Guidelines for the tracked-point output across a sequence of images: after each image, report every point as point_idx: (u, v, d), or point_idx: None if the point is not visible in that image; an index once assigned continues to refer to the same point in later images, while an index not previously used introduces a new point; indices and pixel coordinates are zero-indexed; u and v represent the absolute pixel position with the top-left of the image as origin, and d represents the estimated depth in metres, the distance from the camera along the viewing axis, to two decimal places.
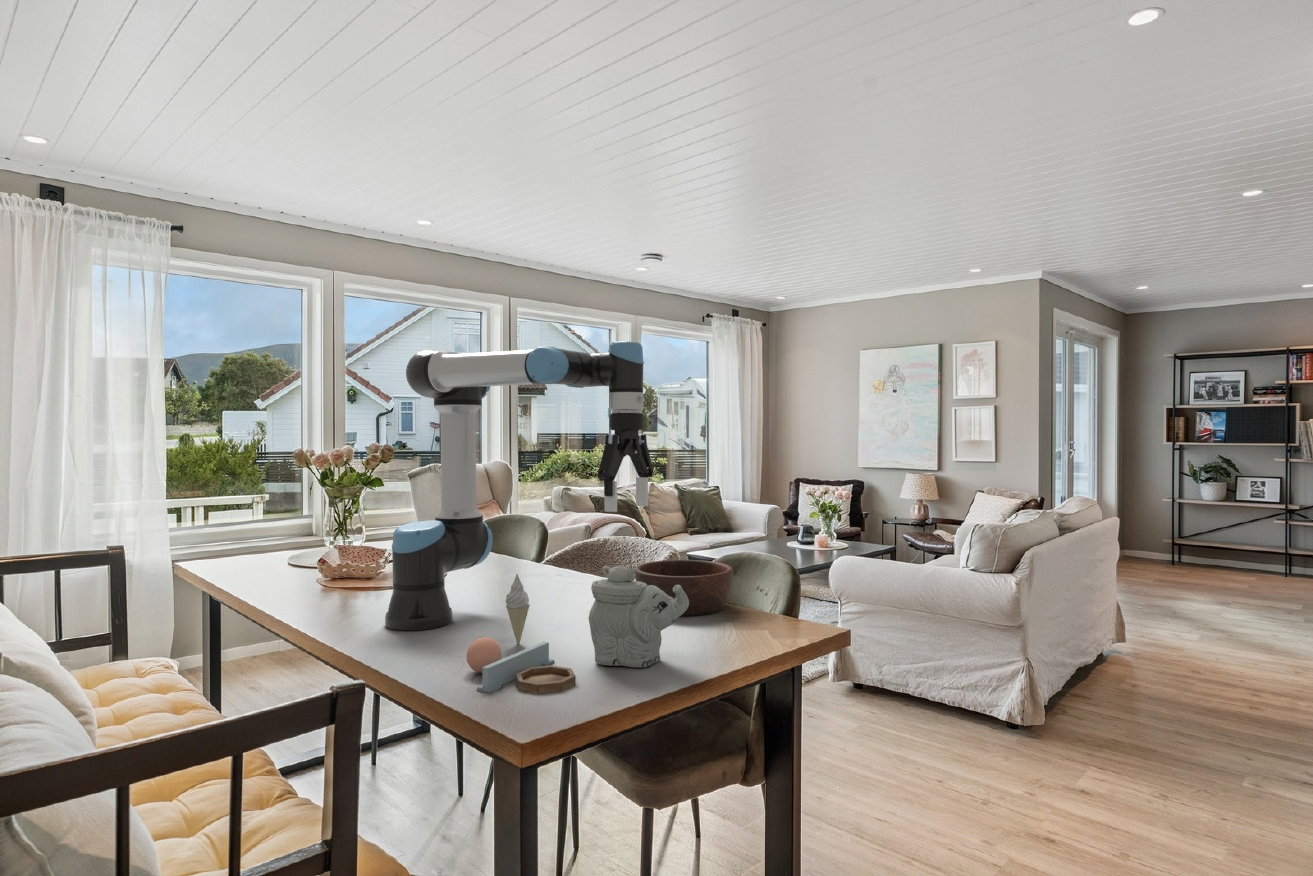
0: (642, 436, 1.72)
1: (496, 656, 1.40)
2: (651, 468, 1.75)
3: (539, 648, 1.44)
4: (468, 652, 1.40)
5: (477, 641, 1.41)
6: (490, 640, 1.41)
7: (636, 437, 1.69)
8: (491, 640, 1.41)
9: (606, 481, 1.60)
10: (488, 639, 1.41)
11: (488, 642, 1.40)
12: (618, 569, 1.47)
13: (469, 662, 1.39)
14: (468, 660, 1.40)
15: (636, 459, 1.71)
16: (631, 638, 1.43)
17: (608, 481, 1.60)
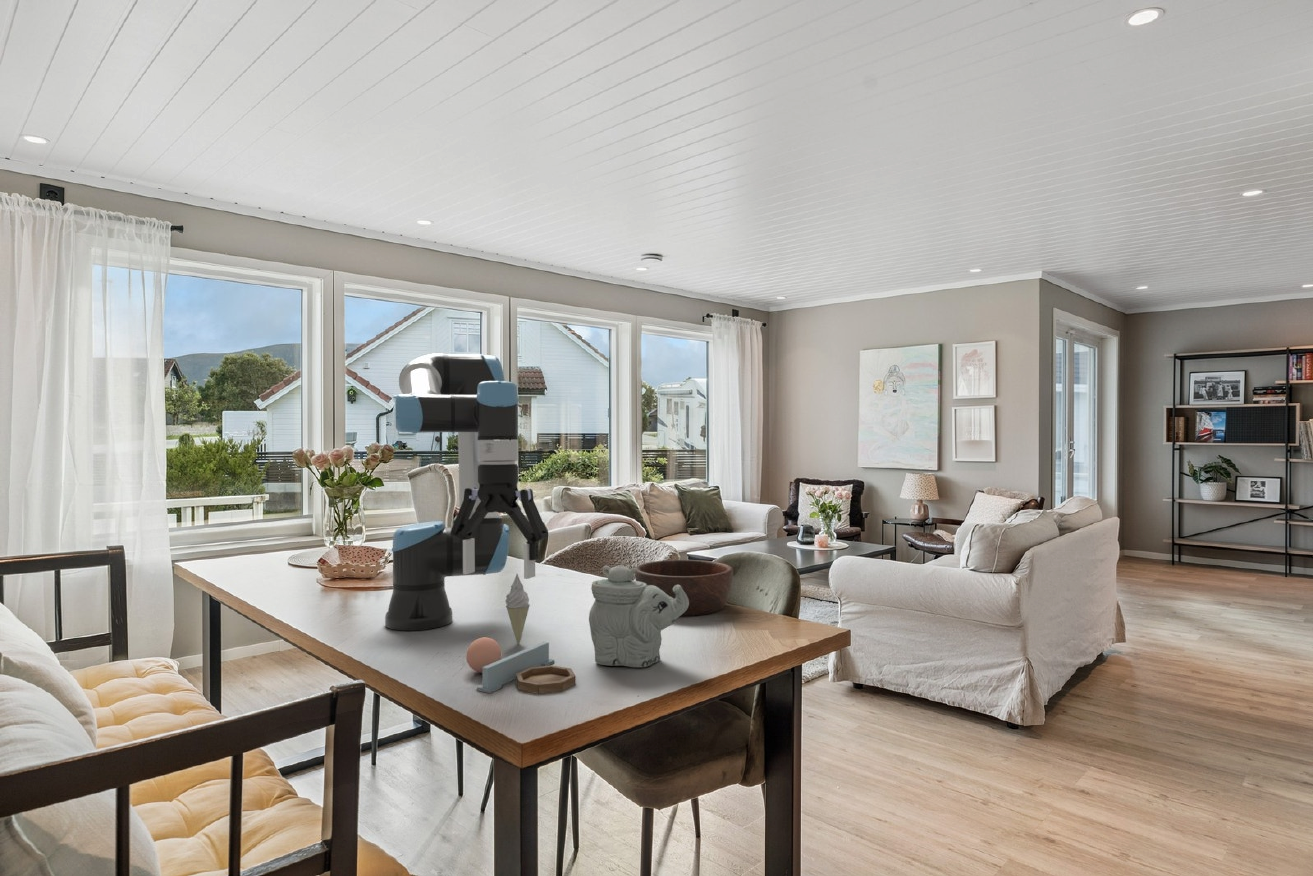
0: None
1: (496, 656, 1.40)
2: (537, 533, 1.39)
3: (539, 648, 1.44)
4: (468, 652, 1.40)
5: (477, 641, 1.41)
6: (490, 640, 1.41)
7: (505, 493, 1.42)
8: (491, 640, 1.41)
9: None
10: (488, 639, 1.41)
11: (488, 642, 1.40)
12: (618, 569, 1.47)
13: (469, 662, 1.39)
14: (468, 660, 1.40)
15: None
16: (631, 638, 1.43)
17: None
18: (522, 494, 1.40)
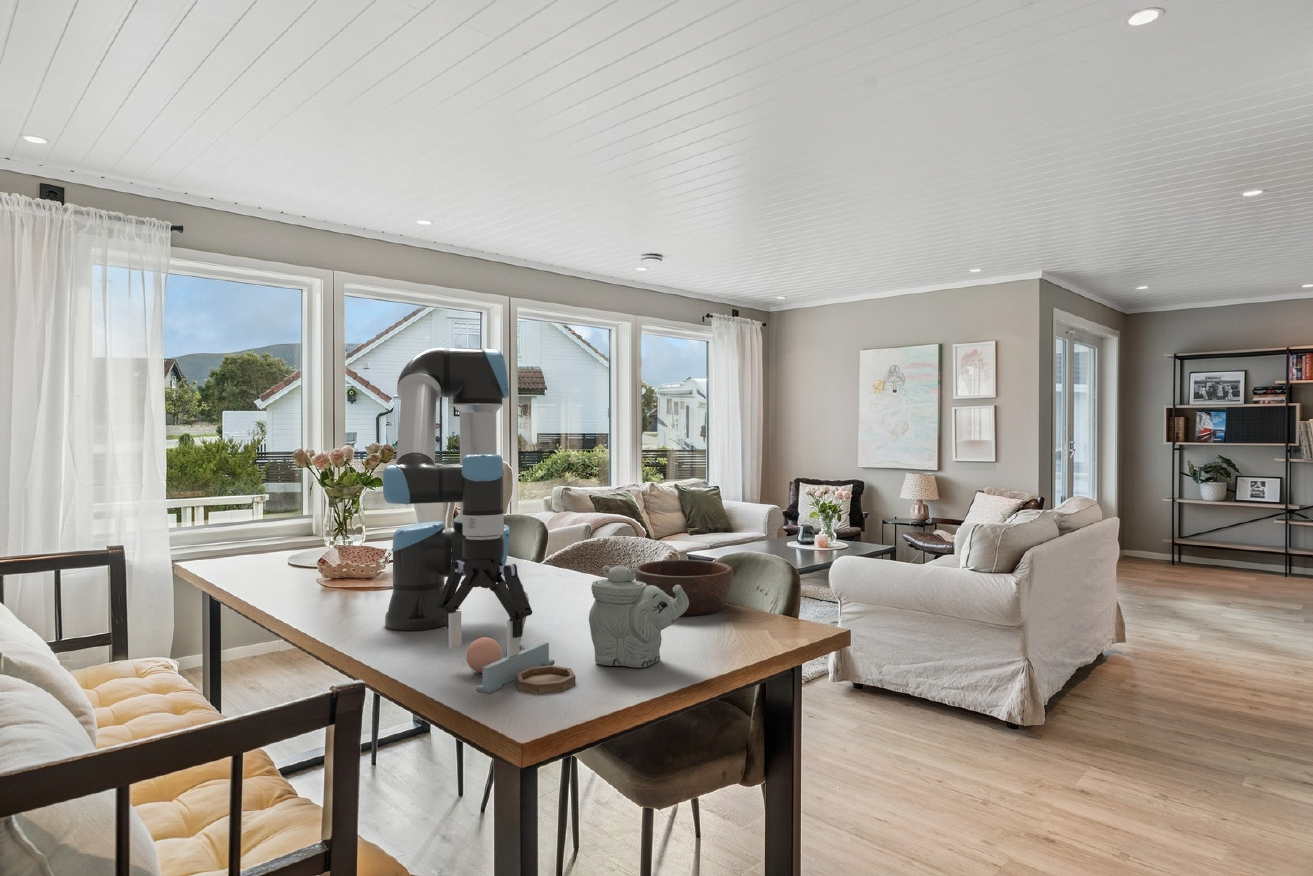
0: None
1: (496, 656, 1.40)
2: (520, 610, 1.36)
3: (539, 648, 1.44)
4: (468, 652, 1.40)
5: (477, 641, 1.41)
6: (490, 640, 1.41)
7: (489, 568, 1.39)
8: (491, 640, 1.41)
9: None
10: (488, 639, 1.41)
11: (488, 642, 1.40)
12: (618, 569, 1.47)
13: (469, 662, 1.39)
14: (468, 660, 1.40)
15: None
16: (631, 638, 1.43)
17: None
18: (505, 570, 1.38)
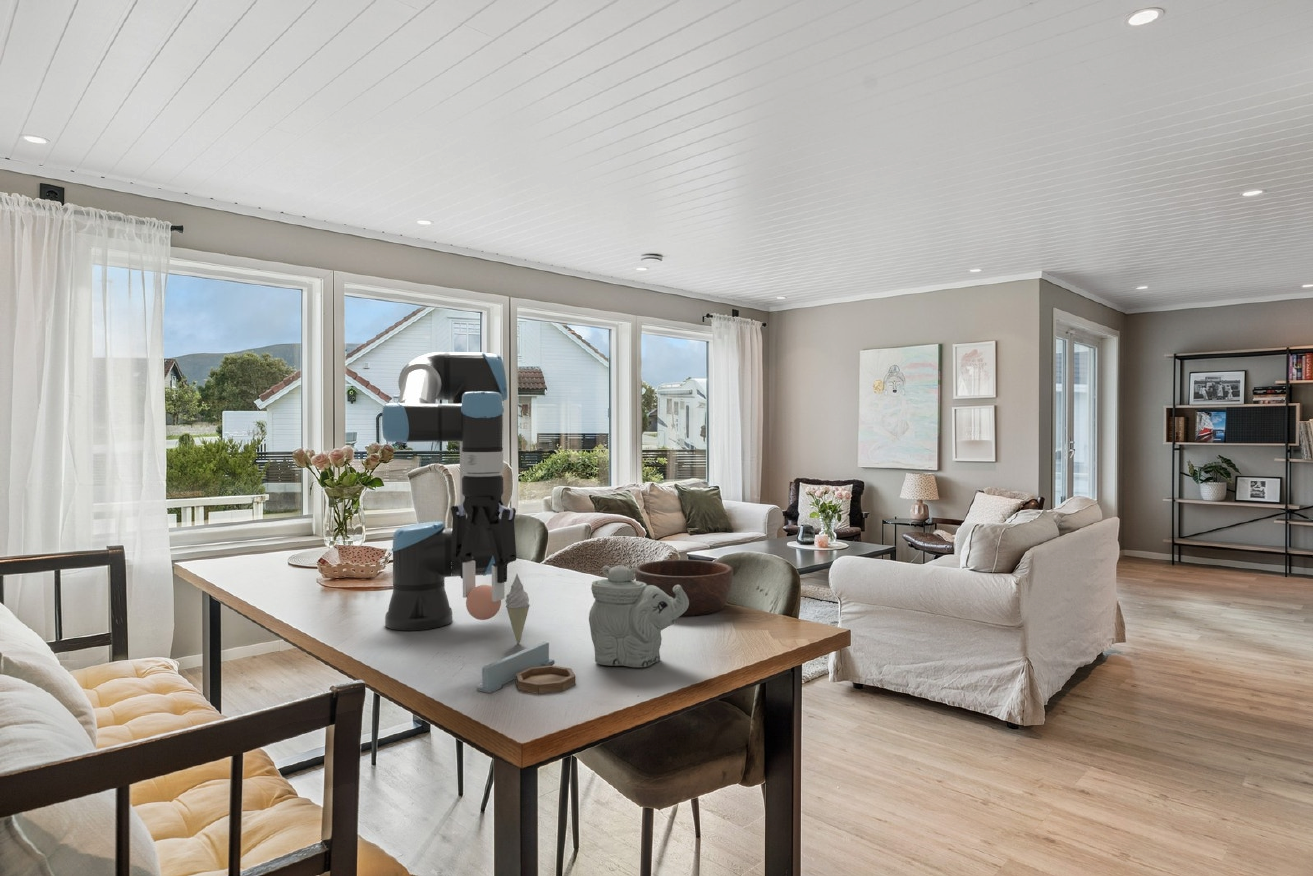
0: None
1: (495, 604, 1.40)
2: (505, 556, 1.38)
3: (539, 648, 1.44)
4: (468, 599, 1.40)
5: (477, 588, 1.41)
6: (490, 588, 1.41)
7: (489, 504, 1.39)
8: (491, 588, 1.41)
9: None
10: (488, 587, 1.41)
11: (488, 589, 1.40)
12: (618, 569, 1.47)
13: (469, 608, 1.40)
14: (468, 606, 1.40)
15: None
16: (631, 638, 1.43)
17: None
18: (504, 513, 1.38)
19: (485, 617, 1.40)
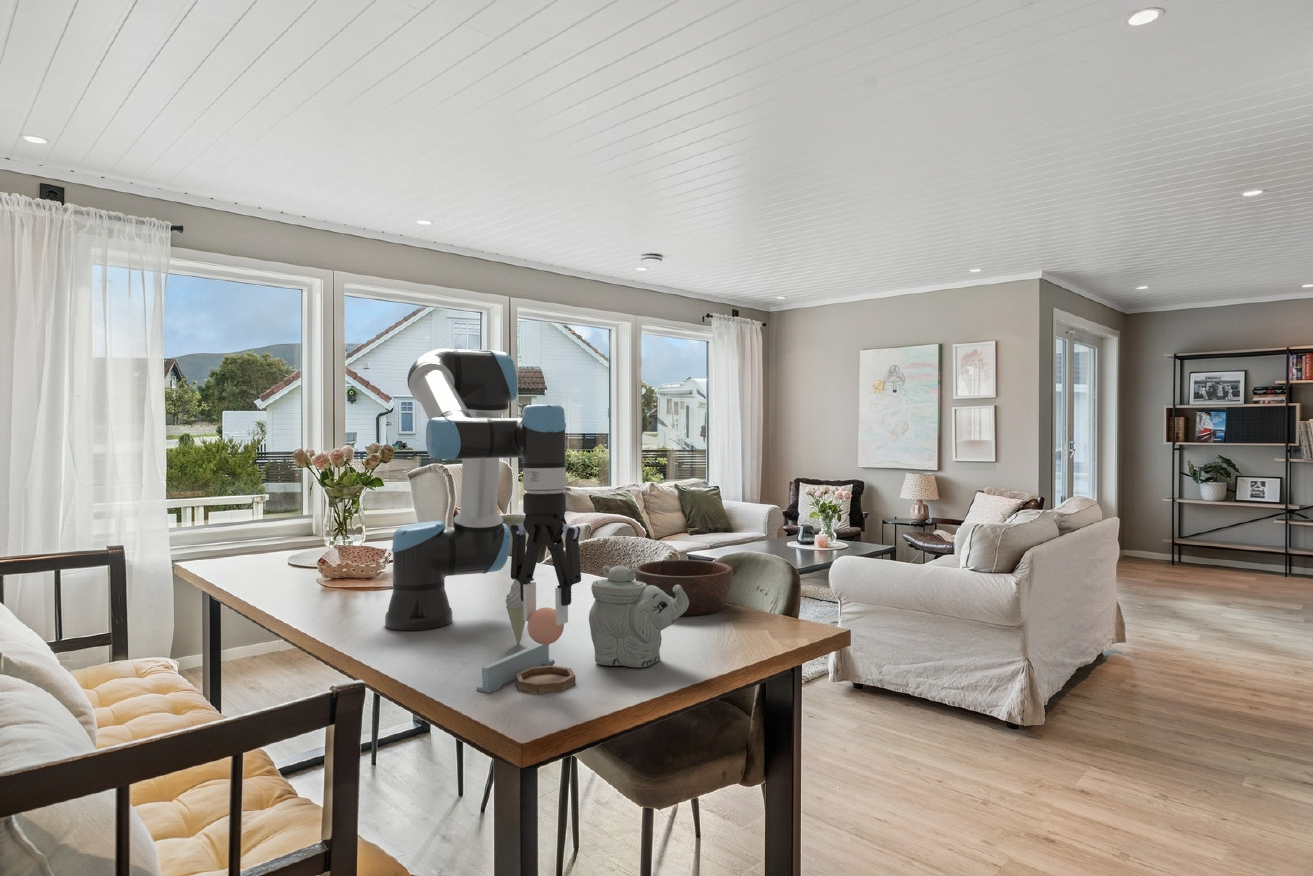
0: None
1: (559, 627, 1.33)
2: (570, 577, 1.31)
3: (539, 648, 1.44)
4: (530, 622, 1.33)
5: (539, 611, 1.34)
6: (553, 610, 1.34)
7: (553, 522, 1.33)
8: (554, 610, 1.35)
9: None
10: (551, 609, 1.35)
11: (550, 612, 1.34)
12: (618, 569, 1.47)
13: (531, 632, 1.33)
14: (530, 630, 1.33)
15: None
16: (631, 638, 1.43)
17: None
18: (568, 532, 1.31)
19: (548, 641, 1.33)
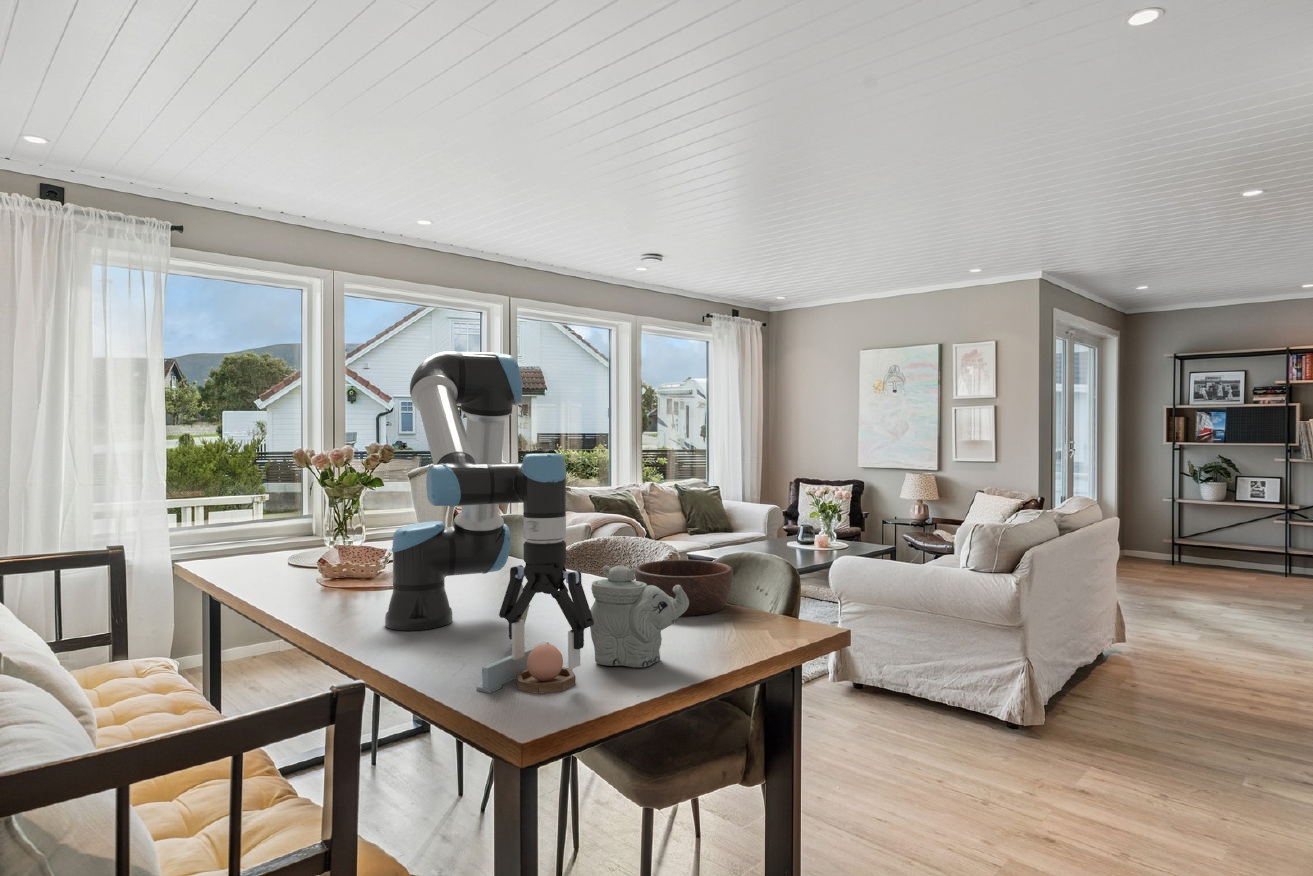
0: None
1: (558, 662, 1.34)
2: (582, 621, 1.30)
3: None
4: (529, 659, 1.34)
5: (538, 647, 1.35)
6: (551, 645, 1.35)
7: (552, 573, 1.33)
8: (552, 646, 1.36)
9: None
10: (549, 645, 1.36)
11: (549, 647, 1.35)
12: (618, 569, 1.47)
13: (530, 669, 1.33)
14: (529, 667, 1.33)
15: None
16: (631, 638, 1.43)
17: None
18: (570, 577, 1.31)
19: (548, 676, 1.33)
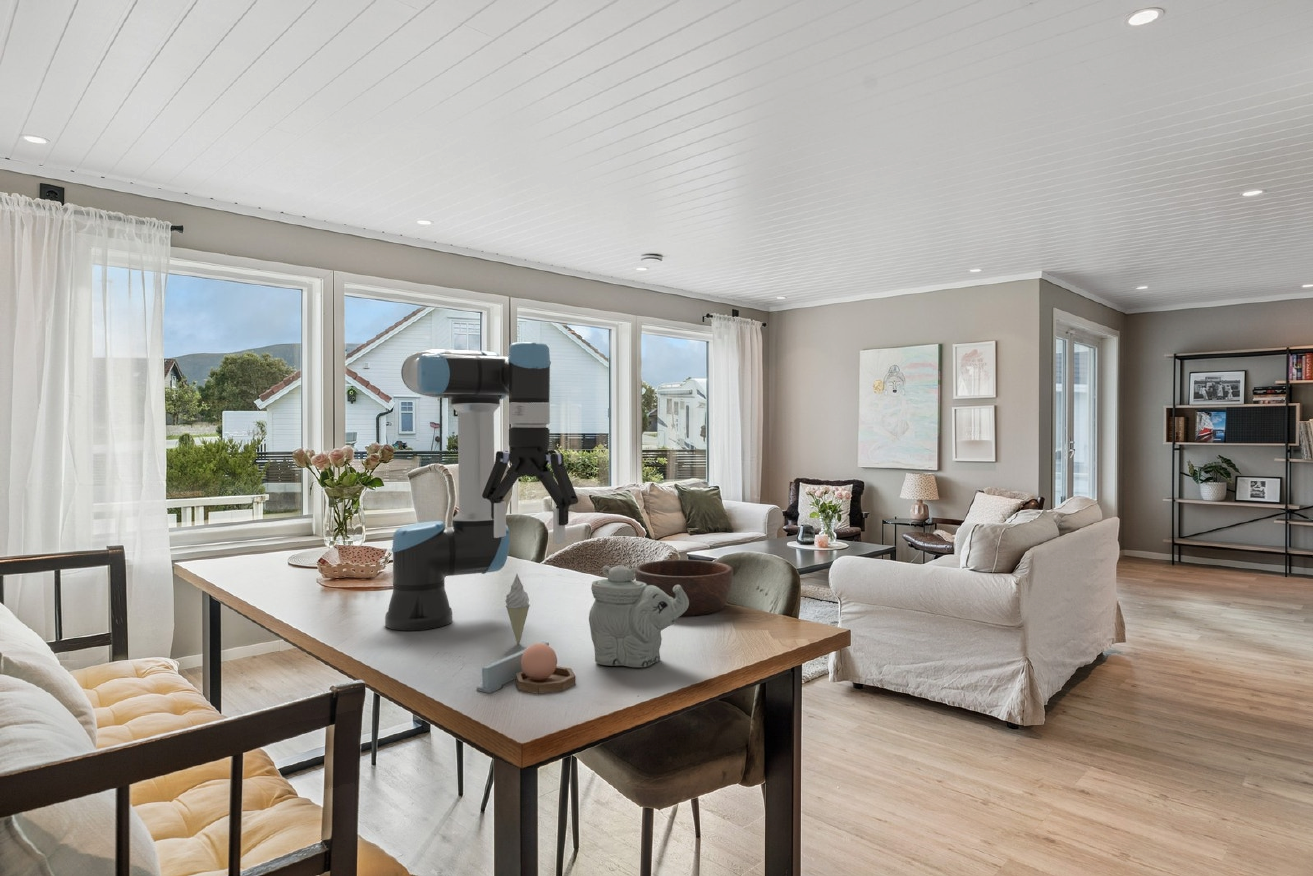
0: None
1: (549, 655, 1.34)
2: (566, 498, 1.36)
3: None
4: (521, 662, 1.35)
5: (527, 648, 1.36)
6: (539, 643, 1.36)
7: (536, 456, 1.39)
8: (540, 643, 1.36)
9: None
10: (537, 643, 1.36)
11: (537, 645, 1.35)
12: (618, 569, 1.47)
13: (525, 671, 1.34)
14: (524, 669, 1.34)
15: None
16: (631, 638, 1.43)
17: None
18: (552, 458, 1.38)
19: (544, 672, 1.33)
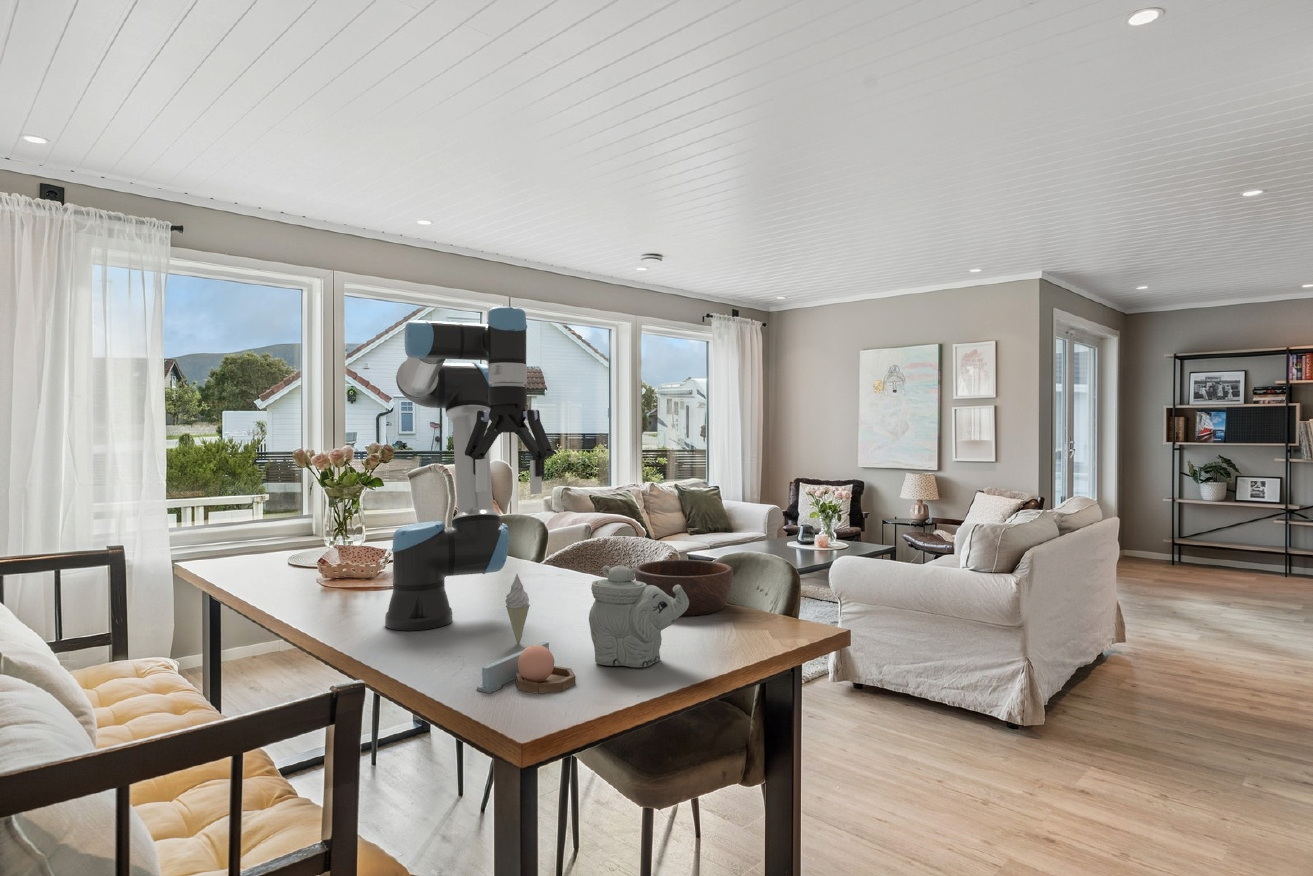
0: None
1: (545, 660, 1.33)
2: (542, 450, 1.46)
3: None
4: (518, 668, 1.33)
5: (522, 654, 1.34)
6: (533, 647, 1.34)
7: (514, 413, 1.49)
8: (535, 647, 1.34)
9: None
10: (531, 647, 1.34)
11: (531, 650, 1.33)
12: (618, 569, 1.47)
13: (524, 677, 1.33)
14: (522, 676, 1.33)
15: None
16: (631, 638, 1.43)
17: None
18: (529, 414, 1.47)
19: (542, 677, 1.33)
